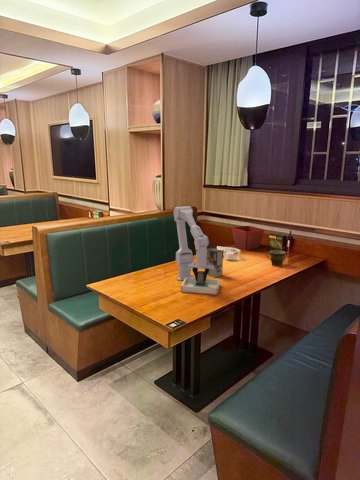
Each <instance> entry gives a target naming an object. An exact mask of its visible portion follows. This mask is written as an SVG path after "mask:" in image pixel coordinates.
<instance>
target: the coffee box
mask: <svg viewBox="0 0 360 480" xmlns="http://www.w3.org/2000/svg"><path fill="white" fill-rule="evenodd" d="M223 255H224V250H218V249H217V248H213V247H211V248H207V256H206V265H212V266H214V270H212V269H210V270H209V272H208V274H207V276H208V275H209V276H212V277H215V278H218V277H221V276H222V275H223V266H224V265H223V261H224V260H223V257H224V256H223Z"/></svg>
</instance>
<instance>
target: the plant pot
mask: <svg viewBox="0 0 360 480" xmlns="http://www.w3.org/2000/svg"><path fill="white" fill-rule="evenodd" d="M231 231H232V237H233V242H234V245H235V247H236V249H239V250H244V251H251V250H257V249H258V248H259V247H260V245H261V241H262V239H263V236H264V233H265V229H264V228H262V227H256V226H252V225H240V226H232V227H231Z"/></svg>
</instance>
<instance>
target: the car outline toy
mask: <svg viewBox="0 0 360 480" xmlns="http://www.w3.org/2000/svg"><path fill="white" fill-rule="evenodd" d="M216 249H218V250H223V258H224V259H225V260H228V261H229V260H230V261H233V260H234V261H240V260H241V252H242V251H241V249H240V248H237V247H236V248H235V247H229V246H219V245H217V246H216ZM236 253H237V256H235V254H236ZM235 258H236V259H235Z"/></svg>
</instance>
